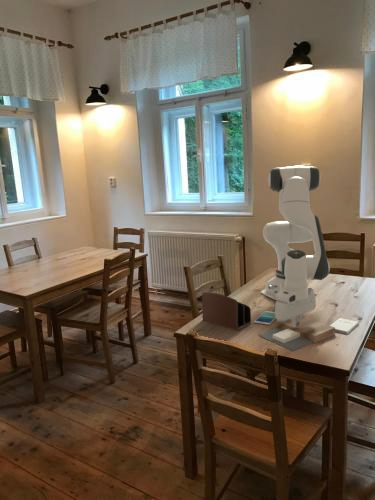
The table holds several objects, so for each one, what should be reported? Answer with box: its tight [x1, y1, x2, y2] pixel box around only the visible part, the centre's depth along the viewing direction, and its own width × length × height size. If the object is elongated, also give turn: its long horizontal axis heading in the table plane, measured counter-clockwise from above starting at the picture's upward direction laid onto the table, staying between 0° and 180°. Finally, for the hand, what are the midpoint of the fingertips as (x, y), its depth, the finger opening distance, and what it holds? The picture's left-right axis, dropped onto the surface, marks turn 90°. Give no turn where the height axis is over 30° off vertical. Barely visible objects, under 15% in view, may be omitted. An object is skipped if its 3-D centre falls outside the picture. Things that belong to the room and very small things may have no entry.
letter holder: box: [201, 291, 252, 331], centre depth 179 cm, size 10×20×14 cm, turn 46°
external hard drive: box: [329, 317, 359, 335], centre depth 168 cm, size 2×8×12 cm
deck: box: [275, 315, 336, 344], centre depth 166 cm, size 20×12×3 cm, turn 34°
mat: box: [258, 327, 313, 352], centre depth 160 cm, size 18×11×1 cm, turn 34°
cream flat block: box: [273, 329, 300, 343], centre depth 160 cm, size 6×9×2 cm, turn 124°
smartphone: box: [253, 310, 277, 326], centre depth 182 cm, size 8×1×15 cm
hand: (296, 325), depth 162 cm, fingers closed
